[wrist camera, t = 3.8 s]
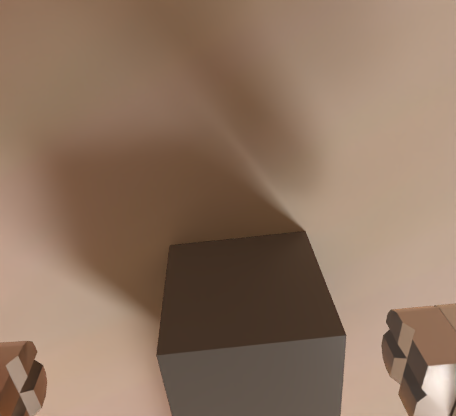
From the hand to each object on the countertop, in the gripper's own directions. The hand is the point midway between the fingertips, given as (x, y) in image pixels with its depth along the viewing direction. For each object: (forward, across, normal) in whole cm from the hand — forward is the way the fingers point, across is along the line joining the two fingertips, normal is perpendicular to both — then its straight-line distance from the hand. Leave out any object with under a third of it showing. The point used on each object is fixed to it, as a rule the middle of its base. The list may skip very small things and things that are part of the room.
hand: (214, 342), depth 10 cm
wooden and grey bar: (+3, -1, +10) cm, 11 cm away
